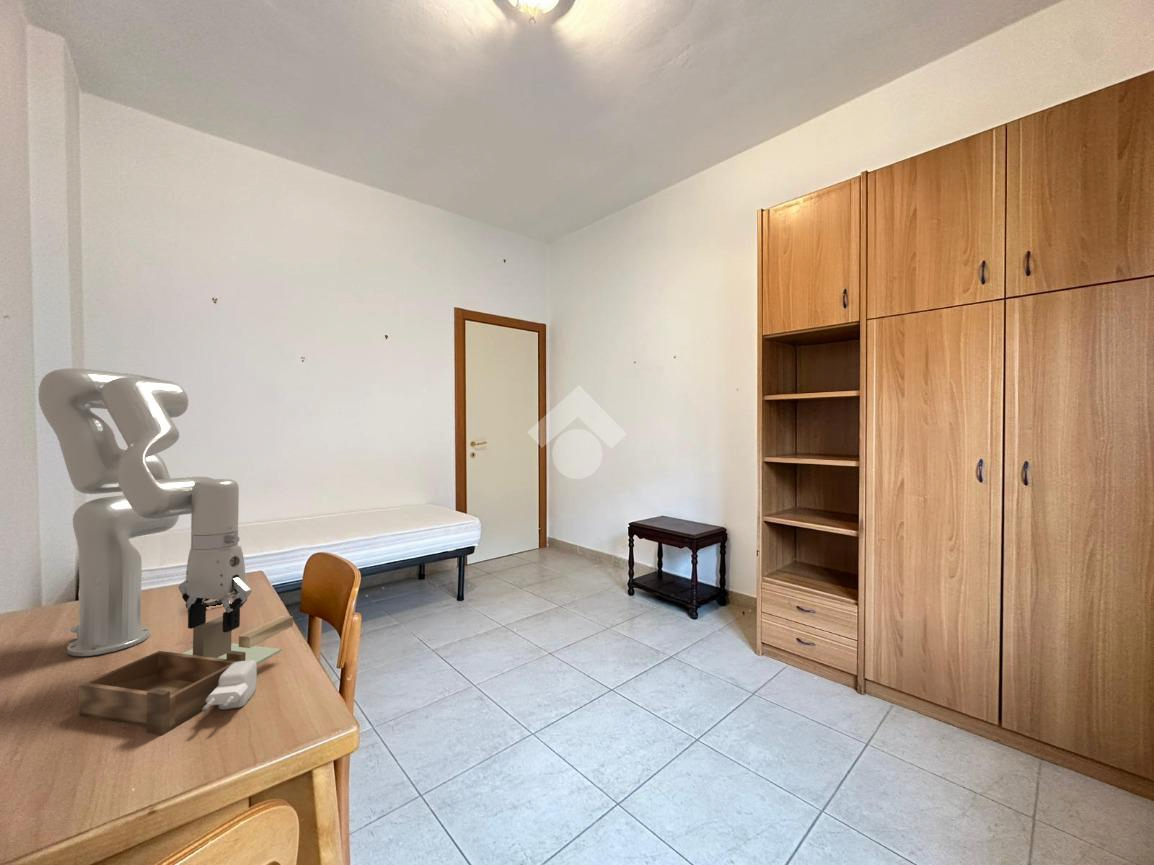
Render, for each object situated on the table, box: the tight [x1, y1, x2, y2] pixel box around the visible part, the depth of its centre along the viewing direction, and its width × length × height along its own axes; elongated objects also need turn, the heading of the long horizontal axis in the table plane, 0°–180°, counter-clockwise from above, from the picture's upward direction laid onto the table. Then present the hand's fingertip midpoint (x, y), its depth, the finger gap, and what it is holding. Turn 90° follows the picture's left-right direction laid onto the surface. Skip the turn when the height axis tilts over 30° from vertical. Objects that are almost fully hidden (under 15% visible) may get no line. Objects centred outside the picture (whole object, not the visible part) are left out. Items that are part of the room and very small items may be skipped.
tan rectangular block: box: [238, 615, 294, 648], centre depth 90 cm, size 2×10×2 cm, turn 169°
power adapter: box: [202, 660, 258, 713], centre depth 77 cm, size 11×5×6 cm, turn 14°
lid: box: [181, 615, 282, 666], centre depth 93 cm, size 18×12×8 cm, turn 79°
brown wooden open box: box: [78, 650, 246, 736], centre depth 79 cm, size 18×14×6 cm
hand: (214, 627), depth 94 cm, fingers open, 7 cm apart
